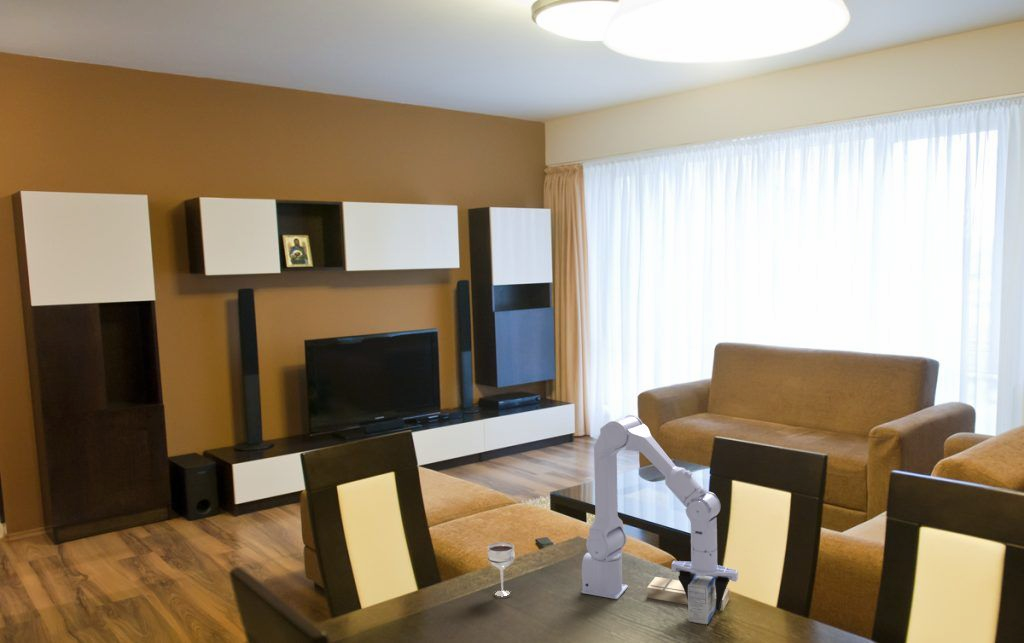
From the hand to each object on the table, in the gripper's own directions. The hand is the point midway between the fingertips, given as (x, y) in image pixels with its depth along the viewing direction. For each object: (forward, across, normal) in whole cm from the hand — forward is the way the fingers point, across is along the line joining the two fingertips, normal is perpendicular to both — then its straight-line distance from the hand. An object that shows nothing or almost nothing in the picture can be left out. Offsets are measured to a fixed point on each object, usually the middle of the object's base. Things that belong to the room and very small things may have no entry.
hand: (704, 606), depth 173 cm
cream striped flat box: (+2, -6, +8) cm, 11 cm away
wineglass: (+3, -48, -8) cm, 49 cm away
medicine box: (+3, -1, 0) cm, 3 cm away
